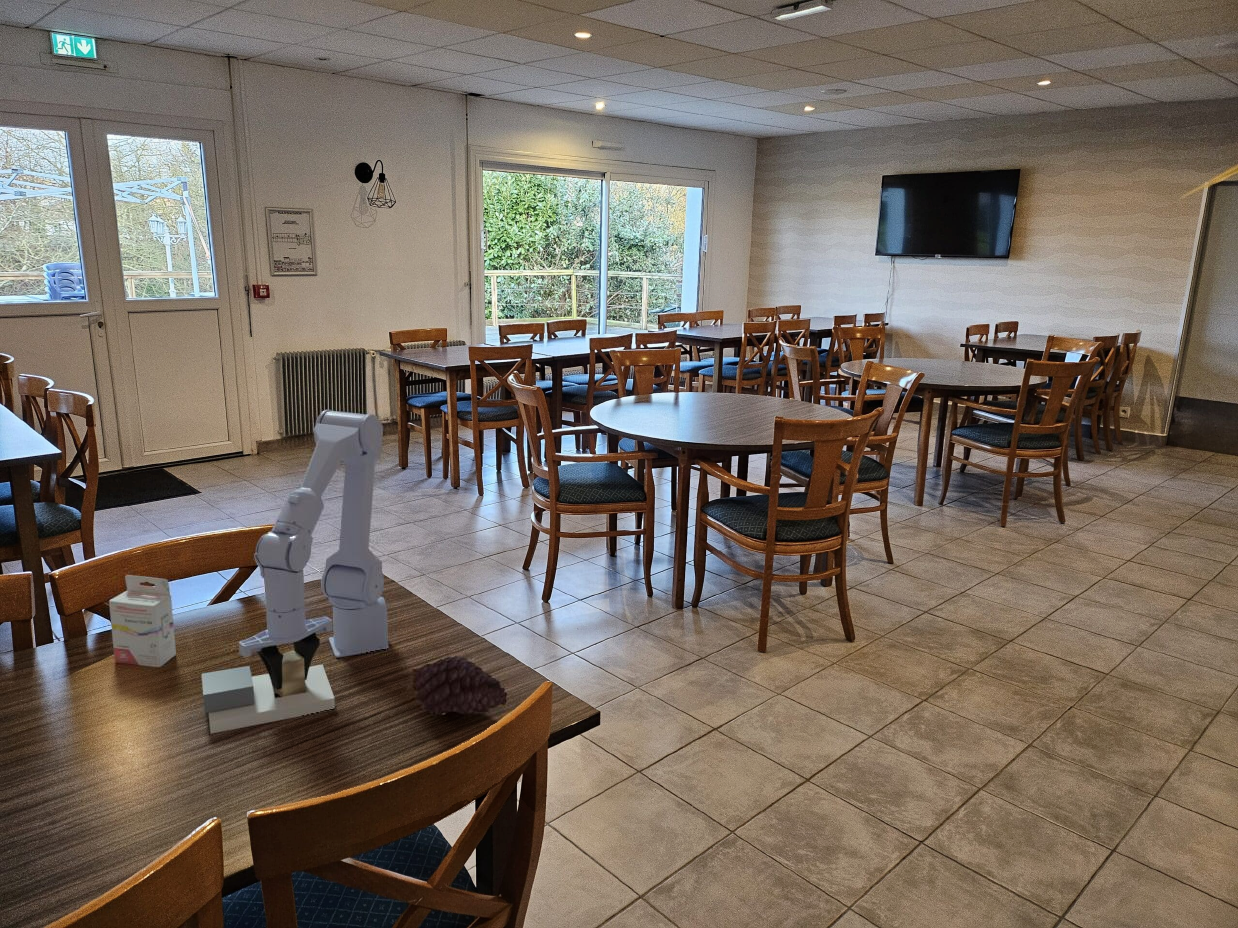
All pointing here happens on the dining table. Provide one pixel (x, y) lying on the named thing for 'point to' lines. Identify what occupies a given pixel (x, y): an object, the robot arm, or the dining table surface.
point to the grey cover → (227, 688)
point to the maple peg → (292, 674)
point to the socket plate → (276, 703)
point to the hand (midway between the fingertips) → (289, 682)
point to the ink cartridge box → (143, 623)
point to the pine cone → (456, 687)
